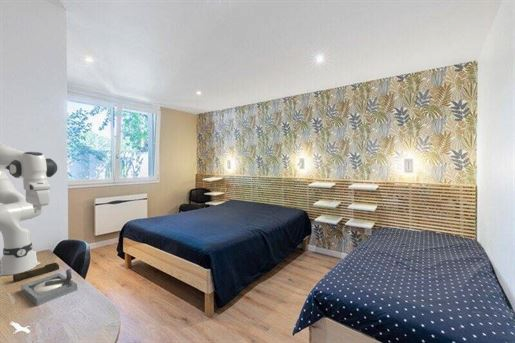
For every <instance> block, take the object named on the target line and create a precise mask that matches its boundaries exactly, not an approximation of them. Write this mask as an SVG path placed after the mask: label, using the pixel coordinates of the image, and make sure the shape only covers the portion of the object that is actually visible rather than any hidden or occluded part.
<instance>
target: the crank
mask: <svg viewBox="0 0 515 343" xmlns="http://www.w3.org/2000/svg"><path fill="white" fill-rule="evenodd" d="M65 274H66V275H65V277H66V279H54V280H49V281H45V282H43V283H40V284H38V285H37V286H35V287H34V292H35V293H37V294H38V295H39V294H42V293H44V292H47V291H50V290H53V289H55V288H58V287H61V286H64V282H69V281H70V280H72V269H71V268H69V269H68V268H67V269H66V270H65Z"/></svg>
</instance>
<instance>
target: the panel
mask: <svg viewBox="0 0 515 343" xmlns="http://www.w3.org/2000/svg"><path fill="white" fill-rule="evenodd" d="M54 279H66V275H63V274H62V273H59V272H57V273H55V274H52V275H48V276H46V277H43V278H39V279H36V280H33V281H30V282H26V283H24V284H20V292H22V294H23V295H25V296H26V297H27V299H29V300H31V302H33V304H35V305H36V306H37V307H38V306H40V305H41V306H42V305H43V304H46V303H48V302H50V301H53V300H55V299H58V298H61V297H63V296H66V295H68V294H71V293H73V292H76V291H78V283H76V282H74V280H73V279H71V280H70V281H69V282H64V286H61V287H58V288H55V289H53V290H50V291H47V292H44V293H42V294H39V295H38V294H37V293H35V292H34V287H35V286H37V285H38V284H40V283H43V282H45V281H49V280H54Z"/></svg>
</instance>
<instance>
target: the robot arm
mask: <svg viewBox="0 0 515 343" xmlns="http://www.w3.org/2000/svg"><path fill="white" fill-rule="evenodd" d="M6 170H8V173H9V174H10V175H11V176H12V177H13V178H16V179H22V182H23V190H25V195H23V194H22V193H21V192H20V191H18V189H17V188H16V186H15V185H14V183H13V182H12V180H11V179H10V177H9V176H8V175H7V173H6ZM57 171H58V165H57V163H56V162H55V161H54V160H53V159H51V158H46V156H45V154H44V153H42V152H38V151H24V150H20V149H18V148H14V147H13V146H10V145H8V144H6V143H3V142H1V141H0V233H1V236H2V239H3V249H2V257H1V259H0V276H10V275H11V276H13V275H16V274H20V273H24V272H28V271H31V270H34V268H36V266H39V265H41V263H42V262H41V261H39V260H37V251H35V250H33V243H32V242H31V231H30V229H28V228H26V227H23V226H20V223H19V222H23V221H26V220H27V221H28V220H32V219H33V218H37V217H38V216H39V217H40V215H41V214H43V210H44V208H43V206H45V207H46V206H49V204H50V197H51V196H50V194H51V193H50V190H51V188H52V187H51V184H50V183H49V180H48V178H51V177H53V176H54V175H55V174H56V173H57Z"/></svg>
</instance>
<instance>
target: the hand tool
mask: <svg viewBox="0 0 515 343" xmlns="http://www.w3.org/2000/svg"><path fill="white" fill-rule="evenodd" d="M57 270H60V265H59V263H57V262H51V263H48V264H45V265H44V266H42V267H39V268H35V269H30V270H28V271H25V272H22V273H18V274H12V280H13V283H16V282H20V281H21V280H24V279H25V280H26V279H28V278H32V277H35V276H38V275H42V274H49V273H52V272H54V271H57Z"/></svg>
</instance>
